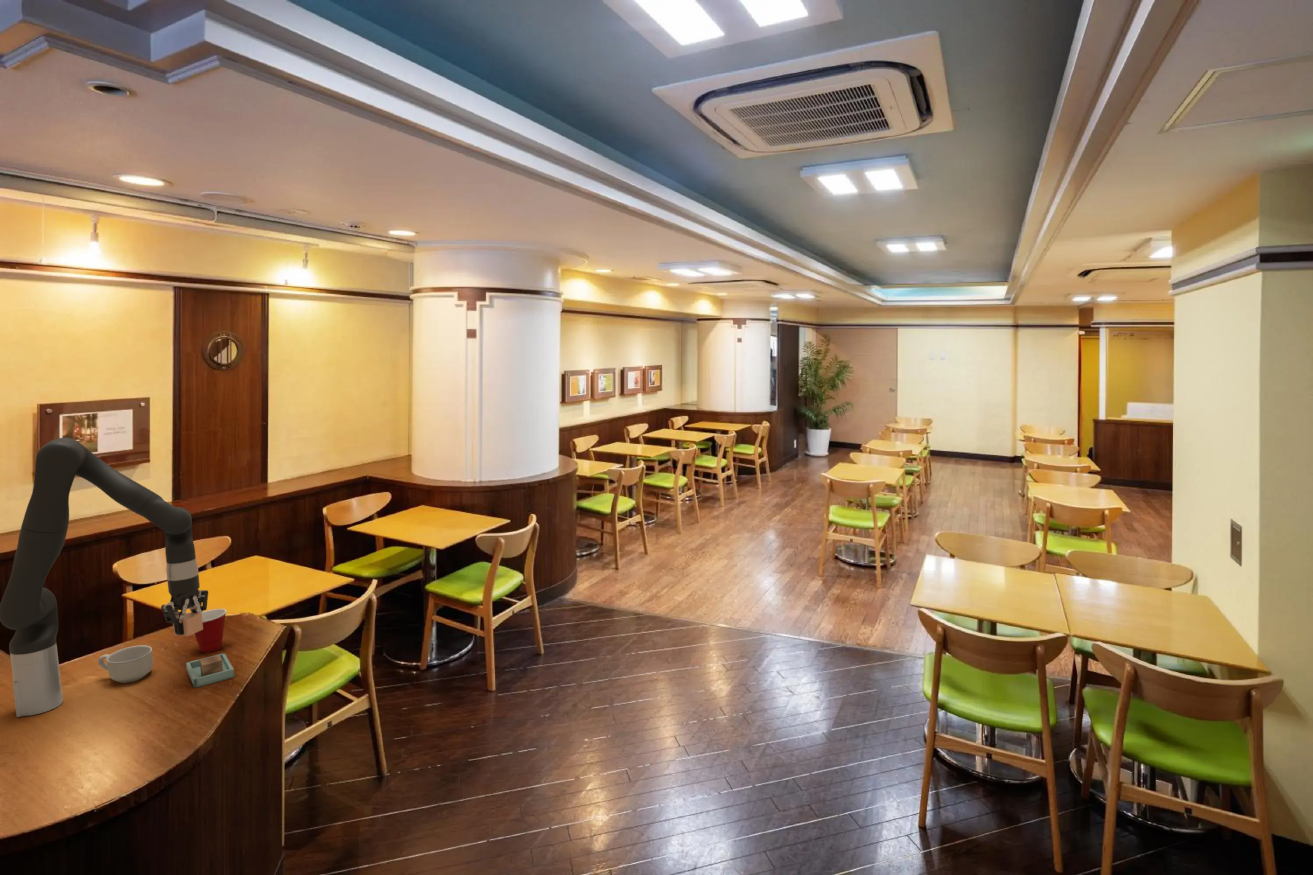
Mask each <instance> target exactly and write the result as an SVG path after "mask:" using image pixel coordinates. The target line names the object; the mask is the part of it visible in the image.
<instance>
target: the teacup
mask: <svg viewBox="0 0 1313 875" xmlns="http://www.w3.org/2000/svg"><path fill="white" fill-rule="evenodd" d="M104 659H105V660H106V662H105V661H104ZM97 663H98V665H99V667H100V668H102V669H103V670H106V671H108V674H109V677H110V678H111V679H112V680H113V681H114V682H115V681H116V682H118V683H121V684H126V683H127V684H128V683H133V682H136V681H138V680H141V679H143V678H144V677H145V676H147V674H148V673H149V672H151V670H152V669H153V665H154V660H153V648H152V647H151V646H150V645H145V644H143V645H142V644H141V645H140V644H139V645H133V646H128V647H124V648H121V649H118V650H116V651H114V652H112V653H110V654H103V655H101V656H100V657H98V661H97Z"/></svg>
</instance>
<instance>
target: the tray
mask: <svg viewBox="0 0 1313 875" xmlns="http://www.w3.org/2000/svg"><path fill="white" fill-rule="evenodd" d="M217 655H220V657H221V659H222V664H223V671H221V672H217V673H214V674H210V675H206V676H202V677H201V669H200V660H201V659H205V658H209V657H213V656H217ZM185 664H186V665H185V668H186V672H187V674H188V675H187V676H189V680H190V681H191V683H192V684H191V685H192V687H193V689H195V688H200V687H204V686H207V685H211V684H215V683H218V682H223V681H225V680H229V679H233V678H235V668H234V666H233V665H232V663H231V662H230V660H229V658H228V657H227V655H226V653H224V652H223V653H220V654H219V653H218V654H216V655H215V654H214V655H212V656H208V657H204V658H200V659H196V660H192V661H188V662H186V663H185Z"/></svg>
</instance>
